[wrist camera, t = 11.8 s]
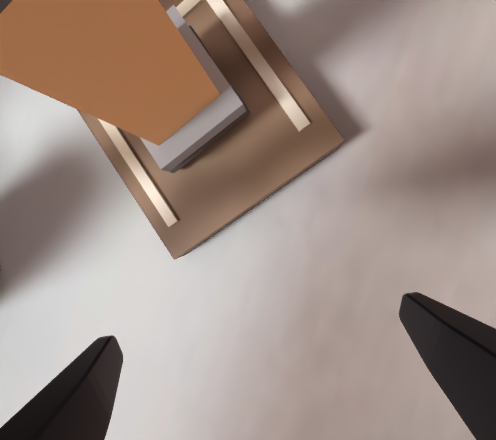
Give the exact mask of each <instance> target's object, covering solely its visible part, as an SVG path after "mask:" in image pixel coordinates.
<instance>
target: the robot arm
mask: <svg viewBox="0 0 496 440" xmlns="http://www.w3.org/2000/svg"><path fill="white" fill-rule="evenodd" d="M399 317H400V320H401V322H402V324H403V326H404V327H405V329H406V331H407V333H408V334H409V336H410V338H411V340H412V342H413V343H414V345H415V347H416V349H417V351H418V352H419V354H420V356H421V358H422V359H423V361H424V363H425V365H426V366H427V368H428V369H429V371H430V372H431V374H432V376H433V377H434V379H435V380H436V381H437V383H438V384H439V386H440V387H441V389H442V390H443V392H444V393H445V395H446V396H447V398H448V399H449V400H450V402H451V403H452V405H453V406H454V408H455V409H456V411H457V412H458V414H459V415H460V417H461V418H462V419H463V421H464V422H465V424H466V425H467V427H468V428H469V430H470V431H471V433H472V434H473V436H474V437H475V438H476V440H496V329H495V328H493V327H491V326H489V325H486V324H484V323H482V322H480V321H478V320H476V319H474V318H472V317H469V316H467V315H465V314H463V313H461V312H459V311H457V310H455V309H453V308H450V307H448V306H446V305H444V304H442V303H440V302H438V301H436V300H433V299H431V298H429V297H427V296H425V295H423V294H421V293H418V292H413V293H406V294H404V295H403V297H402V301H401V306H400V311H399ZM122 363H123V354H122V351H121V349H120V346H119V344H118V342H117V340H116V338H115V337H114V336H112V335H111V336H104V337H100V338H98V339H97V340H95V341H94V342H93V343H92V344H91V345H90V346H89V347H88V348H87V349H86V350H85V351H83V352H82V353H81V354H80V355H79V356H78V357H77V358H76V359H75V360H74V361H73V362H72V363H70V364H69V365H68V366H67V367H66V368H65V369H64V370H63V371H62V372H61V373H60V374H58V375H57V376H56V377H55V378H54V379H53V380H52V381H51V382H50V383H49V384H48V385H47V386H45V387H44V388H43V389H42V390H41V391H40V392H39V393H38V394H37V395H36V396H35V397H34V398H32V399H31V400H30V401H29V402H28V403H27V404H26V405H25V406H24V407H23V408H22V409H21V410H19V411H18V412H17V413H16V414H15V415H14V416H13V417H12V418H11V419H10V420H9V421H8V422H6V423H5V424H4V425H3V426H2V427H1V428H0V440H104V439H105V436H106V433H107V429H108V426H109V423H110V419H111V415H112V411H113V406H114V401H115V397H116V392H117V387H118V382H119V378H120V373H121V368H122Z"/></svg>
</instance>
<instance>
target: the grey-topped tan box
mask: <svg viewBox="0 0 496 440" xmlns="http://www.w3.org/2000/svg"><path fill="white" fill-rule="evenodd" d="M0 75H2V76H5V77H7V78H9V79H11V80H13V81H16V82H18V83H20V84H22V85H25V86H27V87H29V88H31V89H33V90H36V91H38V92H40V93H42V94H45V95H47V96H49V97H51V98H54V99H56V100H58V101H60V102H62V103H65V104H67V105H69V106H71V107H74V108H76V109H78V110H80V111H83V112H85V113H87V114H89V115H91V116H94V117H96V118H98V119H100V120H103V121H105V122H107V123H109V124H111V125H114V126H116V127H118V128H120V129H123V130H125V131H127V132H129V133H132V134H134V135H136V136H138V137H140V139H141V140H142V142H143V143H144V145H145V146H146V148H147V149H148V151H149V152H150V154H151V155H152V157H153V158H154V160H155V161H156V163H157V164H158V166H159V167H160V169H161V170H164V171H168V172H171V173H175V172H177V171H178V170H179V169H180V168H182V167H183V166H184V165H185V164H187V163H188V162H189V161H191V160H192V159H193V158H194V157H196V156H197V155H198V154H199V153H201V152H202V151H203V150H205V149H206V148H207V147H208V146H210V145H211V144H212V143H214V142H215V141H216V140H217V139H219V138H220V137H221V136H222V135H224V134H225V133H226V132H228V131H229V130H230V129H231V128H233V127H234V126H235V125H236V124H238V123H239V122H240V121H242V120H243V119H244V118H245V117H247V116H248V115H249V114H251V113H250V111H249V109H248V107H247V105H246V104H245V102H244V101H243V99H242V98H241V96H240V95H239V93H238V92H237V90H236V89H235V88H234V86H233V85H231V86H230V85H229V83H228V82H227V80H226V79H225V77H224V76H223V75H222V73H221V72H220V70H219V69H218V67H217V66H216V65H215V63H214V62H213V60H212V59H211V56H210V54H209V52H208V50H207V49H206V47H205V45H204V44H203V42H202V41H201V39H200V38H199V36H198V35H197V33H196V32H195V30H194V29H193V28H192V26H191V25H190V26H188V25H187V23H186V22H185V20H184V19H183V17H182V16H181V15H180V13H179V12H178V10H177V9H176V7H175V6H174V5H173V6H172V7H170V8H169V9H168V10H167V11H165V10H164V8H163V7H162V5H161V4H160V2H159V1H158V0H0Z"/></svg>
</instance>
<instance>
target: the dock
mask: <svg viewBox="0 0 496 440" xmlns="http://www.w3.org/2000/svg"><path fill="white" fill-rule="evenodd" d="M158 1H159V2H160V4H161V5H162V7H163V8H164V10H165V11H167V10H168V9H169V8H170V7H172V6H173V5H174V6H175V7H176V9H177V10H178V12H179V13H180V15H181V16H182V17H183V19H184V20H185V22H186V23H187V25H188V26H190V25H191V26H192V28H193V29H194V30H195V32H196V33H197V35H198V36H199V38H200V39H201V41H202V42H203V44H204V45H205V47H206V49H207V50H208V52H209V54H210V56H211V59H212V60H213V62H214V63H215V65H216V66H217V67H218V69H219V70H220V72H221V73H222V75H223V76H224V77H225V79H226V80H227V82H228V83H229V85H230V86H231V85H233V86H234V88H235V89H236V90H237V92H238V93H239V95H240V96H241V98H242V99H243V101H244V102H245V104H246V105H247V107H248V109H249V111H250V113H251V114H249V115H248V116H247V117H245V118H244V119H243V120H242V121H240V122H239V123H238V124H236V125H235V126H234V127H233V128H231V129H230V130H229V131H228V132H226V133H225V134H224V135H222V136H221V137H220V138H219V139H217V140H216V141H215V142H214V143H212V144H211V145H210V146H208V147H207V148H206V149H205V150H203V151H202V152H201V153H199V154H198V155H197V156H196V157H194V158H193V159H192V160H191V161H189V162H188V163H187V164H185V165H184V166H183V167H182V168H180V169H179V170H178V171H177V172H175V173H171V172H168V171H164V170H161V169H160V167H159V166H158V164H157V163H156V161H155V160H154V158H153V157H152V155H151V154H150V152H149V151H148V149H147V148H146V146H145V145H144V143H143V142H142V140H141V139H140V137H138V136H136V135H134V134H132V133H129V132H127V131H125V130H123V129H120V128H118V127H116V126H114V125H111V124H109V123H107V122H105V121H103V120H100V119H98V118H96V117H94V116H91V115H89V114H87V113H85V112H83V111H80V110H78V109H77V110H78V112H79V113H80V115H81V116H82V118H83V120H84V121H85V123H86V124H87V126H88V127H89V129H90V130H91V132H92V133H93V135H94V137H95V138H96V140H97V141H98V143H99V144H100V146H101V147H102V149H103V150H104V152H105V154H106V155H107V157H108V158H109V160H110V161H111V163H112V164H113V166H114V167H115V169H116V171H117V172H118V174H119V175H120V177H121V178H122V180H123V181H124V183H125V184H126V186H127V188H128V189H129V191H130V192H131V194H132V195H133V197H134V198H135V200H136V201H137V203H138V205H139V206H140V208H141V209H142V211H143V212H144V214H145V215H146V217H147V218H148V220H149V222H150V223H151V225H152V226H153V228H154V229H155V231H156V232H157V234H158V235H159V237H160V239H161V240H162V242H163V243H164V245H165V246H166V248H167V249H168V251H169V252H170V254H171V256H172V257H173V259H174V260H175V259H177V258H179V257H181V256H184V255H186V254H187V253H189V252H190V251H192V250H193V249H195V248H196V247H197V246H199V245H200V244H202V243H203V242H205V241H206V240H207V239H209V238H210V237H212V236H213V235H215V234H216V233H217V232H219V231H220V230H222V229H223V228H225V227H226V226H227V225H229V224H230V223H232V222H233V221H235V220H236V219H237V218H239V217H240V216H242V215H243V214H245V213H246V212H248V211H249V210H250V209H252V208H253V207H255V206H256V205H258V204H259V203H260V202H262V201H263V200H265V199H266V198H268V197H269V196H270V195H272V194H273V193H275V192H276V191H278V190H279V189H280V188H282V187H283V186H285V185H286V184H288V183H289V182H290V181H292V180H293V179H295V178H296V177H298V176H299V175H300V174H302V173H303V172H305V171H306V170H308V169H309V168H311V167H312V166H313V165H315V164H316V163H318V162H319V161H321V160H322V159H323V158H325V157H326V156H328V155H329V154H331V153H332V152H333V151H335V150H336V149H338V148H339V147H340V146H341V144H342V143H343V142H344V139H343V138H342V136H341V135H340V133H339V132H338V131H337V129H336V128H335V126H334V125H333V124H332V122H331V121H330V120H329V118H328V117H327V115H326V114H325V113H324V111H323V110H322V108H321V107H320V106H319V104H318V103H317V101H316V100H315V99H314V97H313V96H312V94H311V93H310V92H309V90H308V89H307V87H306V86H305V85H304V83H303V82H302V81H301V79H300V78H299V76H298V75H297V74H296V72H295V71H294V69H293V68H292V67H291V65H290V64H289V62H288V61H287V60H286V58H285V57H284V55H283V54H282V53H281V51H280V50H279V49H278V47H277V46H276V44H275V43H274V42H273V40H272V39H271V37H270V36H269V35H268V33H267V32H266V30H265V29H264V28H263V26H262V25H261V23H260V22H259V21H258V19H257V18H256V16H255V15H254V14H253V12H252V11H251V10H250V8H249V7H248V5H247V4H246V3H245V1H244V0H158Z"/></svg>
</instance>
